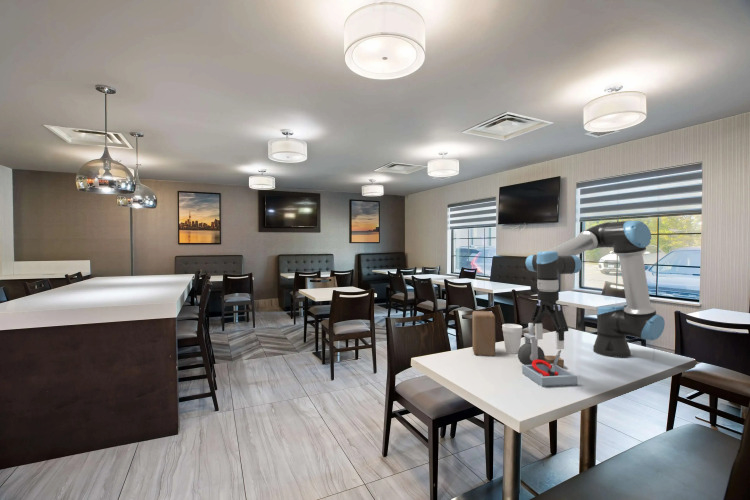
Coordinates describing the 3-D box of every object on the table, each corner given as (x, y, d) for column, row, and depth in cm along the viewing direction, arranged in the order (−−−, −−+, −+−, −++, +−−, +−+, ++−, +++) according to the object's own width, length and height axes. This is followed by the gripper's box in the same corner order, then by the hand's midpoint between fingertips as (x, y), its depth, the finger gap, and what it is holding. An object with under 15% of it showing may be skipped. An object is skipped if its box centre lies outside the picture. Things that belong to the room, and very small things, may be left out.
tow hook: (526, 362, 142) (542, 379, 134) (535, 337, 137) (552, 352, 129) (543, 360, 145) (559, 376, 137) (552, 335, 140) (570, 350, 132)
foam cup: (500, 352, 171) (499, 326, 171) (504, 348, 179) (504, 323, 179) (520, 355, 166) (520, 328, 166) (524, 351, 173) (524, 325, 173)
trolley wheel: (538, 364, 153) (537, 321, 153) (546, 368, 147) (545, 324, 147) (516, 365, 152) (516, 322, 152) (523, 369, 146) (523, 325, 146)
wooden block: (495, 356, 165) (495, 315, 165) (474, 355, 167) (473, 314, 167) (492, 350, 174) (492, 311, 174) (472, 349, 176) (472, 310, 176)
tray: (554, 372, 144) (554, 363, 144) (577, 385, 130) (577, 375, 130) (522, 373, 142) (522, 365, 142) (542, 387, 128) (542, 377, 128)
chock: (557, 364, 154) (557, 355, 154) (563, 369, 148) (563, 359, 148) (541, 364, 154) (541, 355, 154) (547, 369, 148) (547, 359, 148)
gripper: (522, 287, 148) (523, 336, 148) (559, 294, 123) (560, 354, 123) (538, 286, 149) (539, 335, 149) (578, 294, 124) (579, 352, 124)
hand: (549, 343), depth 136 cm, fingers open, 13 cm apart
